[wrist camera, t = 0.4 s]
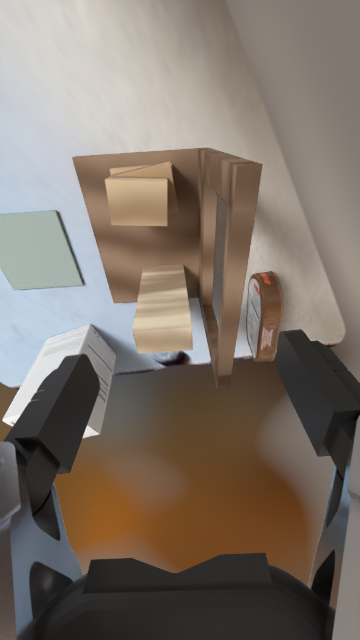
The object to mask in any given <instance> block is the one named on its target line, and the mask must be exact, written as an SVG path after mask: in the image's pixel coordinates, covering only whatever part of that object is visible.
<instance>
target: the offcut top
mask: <svg viewBox="0 0 360 640" xmlns="http://www.w3.org/2000/svg"><path fill="white" fill-rule="evenodd" d="M105 184H106V191H107V198H108V204H109V211H110V218H111V225H131V226H167V177H138V176H109V177H108V178H106V179H105Z"/></svg>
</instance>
